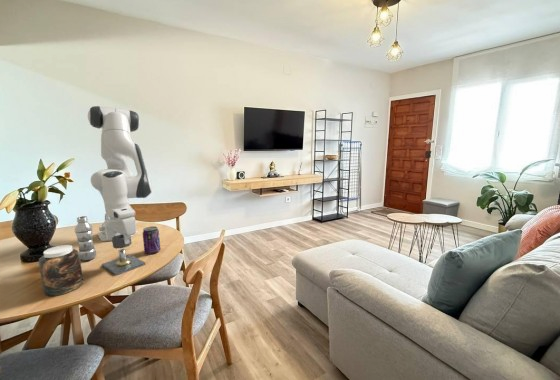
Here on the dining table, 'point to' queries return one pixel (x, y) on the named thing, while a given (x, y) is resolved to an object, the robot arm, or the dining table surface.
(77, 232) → the plastic bottle
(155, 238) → the beverage can
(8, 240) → the dining table surface
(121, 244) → the octagonal nut
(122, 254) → the post stand
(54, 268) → the jar
